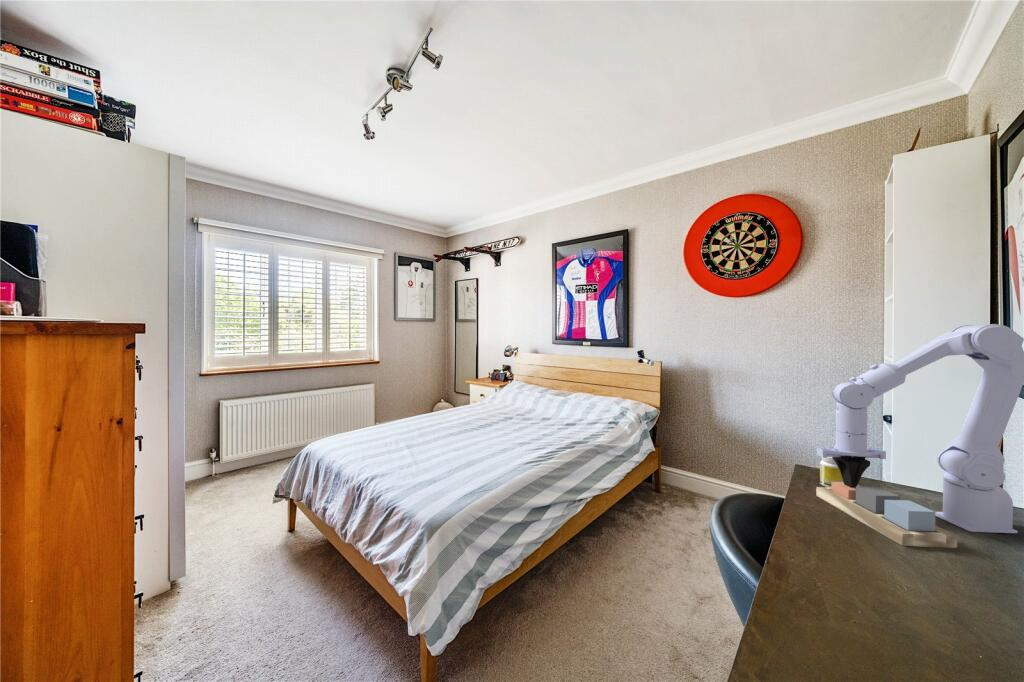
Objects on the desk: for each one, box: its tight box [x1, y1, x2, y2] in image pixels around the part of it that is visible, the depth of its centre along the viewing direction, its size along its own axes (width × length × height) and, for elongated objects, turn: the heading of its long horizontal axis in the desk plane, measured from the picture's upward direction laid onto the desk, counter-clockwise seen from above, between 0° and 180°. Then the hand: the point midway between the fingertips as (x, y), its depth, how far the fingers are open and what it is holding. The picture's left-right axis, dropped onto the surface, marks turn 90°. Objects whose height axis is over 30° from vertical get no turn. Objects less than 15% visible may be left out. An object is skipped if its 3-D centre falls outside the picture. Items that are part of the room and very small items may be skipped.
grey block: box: [856, 485, 901, 514], centre depth 82 cm, size 5×5×4 cm
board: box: [815, 486, 958, 549], centre depth 82 cm, size 10×22×2 cm, turn 176°
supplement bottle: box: [819, 457, 843, 487], centre depth 99 cm, size 5×5×8 cm
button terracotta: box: [831, 482, 860, 500], centre depth 89 cm, size 5×5×4 cm
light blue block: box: [884, 499, 936, 532], centre depth 75 cm, size 5×5×4 cm
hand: (850, 486), depth 89 cm, fingers closed, pressing on button terracotta
